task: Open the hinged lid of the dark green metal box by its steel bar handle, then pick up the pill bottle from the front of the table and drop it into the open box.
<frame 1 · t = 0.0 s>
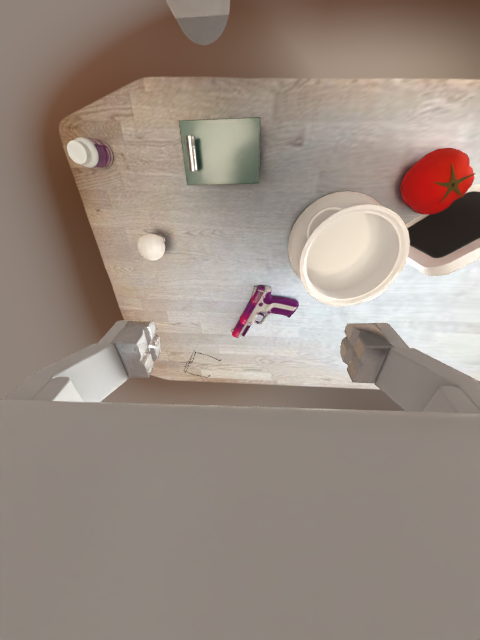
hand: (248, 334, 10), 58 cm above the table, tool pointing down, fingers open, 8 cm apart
pot: (330, 239, 64), on the table
toy gun: (282, 326, 79), point 2 cm above the table
light bulb: (161, 238, 66), on the table
tomato: (416, 181, 55), on the table
lid: (220, 153, 45), point 11 cm above the table, hinge at 0.0°
pill bottle: (102, 153, 56), on the table
computer: (454, 220, 50), point 11 cm above the table
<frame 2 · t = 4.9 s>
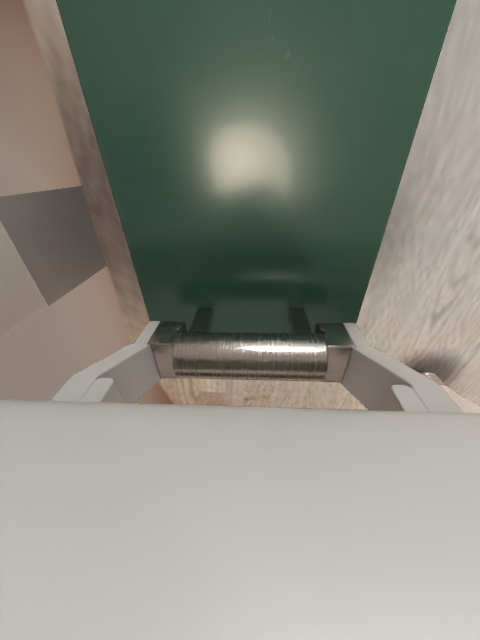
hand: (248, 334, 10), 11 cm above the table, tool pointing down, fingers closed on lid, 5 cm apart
light bulb: (417, 374, 27), on the table
lid: (249, 201, 7), point 11 cm above the table, hinge at -0.1°, touching gripper
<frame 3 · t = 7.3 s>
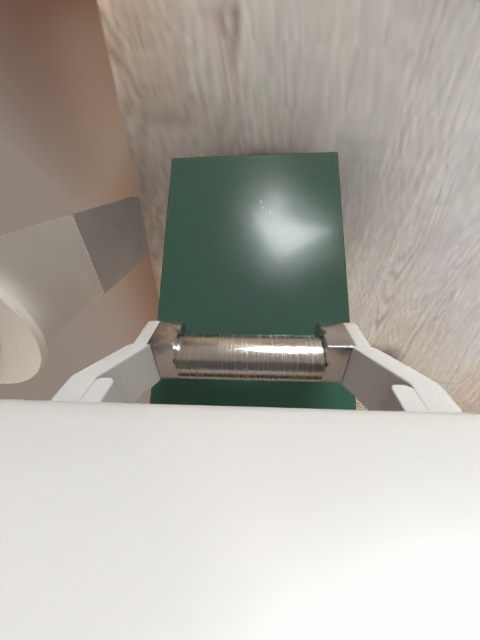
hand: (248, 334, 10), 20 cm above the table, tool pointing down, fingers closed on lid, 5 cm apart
lid: (251, 254, 12), point 16 cm above the table, hinge at 45.7°, touching gripper
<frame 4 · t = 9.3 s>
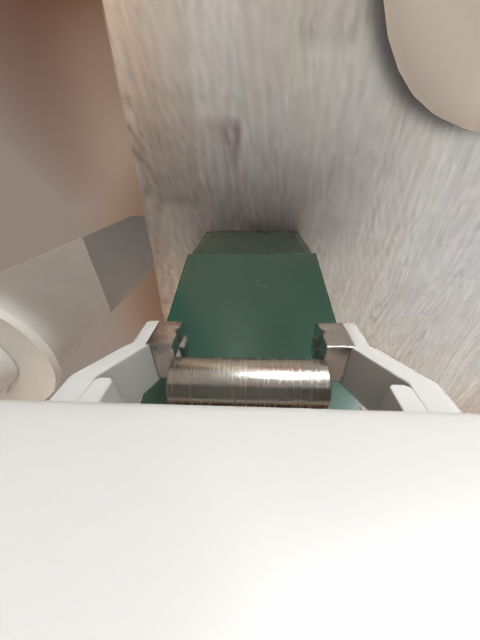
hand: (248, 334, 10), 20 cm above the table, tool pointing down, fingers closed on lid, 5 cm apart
lid: (249, 307, 13), point 17 cm above the table, hinge at 74.2°, touching gripper
chest: (251, 287, 31), on the table
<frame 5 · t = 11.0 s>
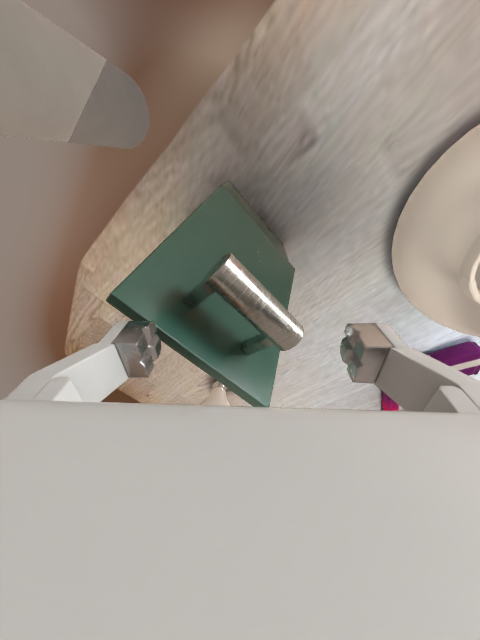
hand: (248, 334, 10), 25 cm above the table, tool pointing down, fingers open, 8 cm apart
toy gun: (468, 386, 43), point 2 cm above the table
light bulb: (220, 382, 49), on the table
lid: (257, 264, 16), point 17 cm above the table, hinge at 73.0°
chest: (219, 252, 33), on the table
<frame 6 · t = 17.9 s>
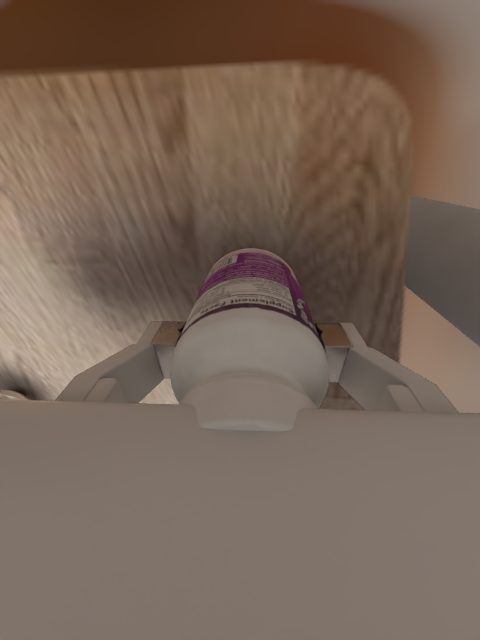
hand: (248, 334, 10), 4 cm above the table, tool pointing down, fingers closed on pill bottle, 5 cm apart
light bulb: (22, 391, 20), on the table
pill bottle: (250, 289, 14), on the table, touching gripper
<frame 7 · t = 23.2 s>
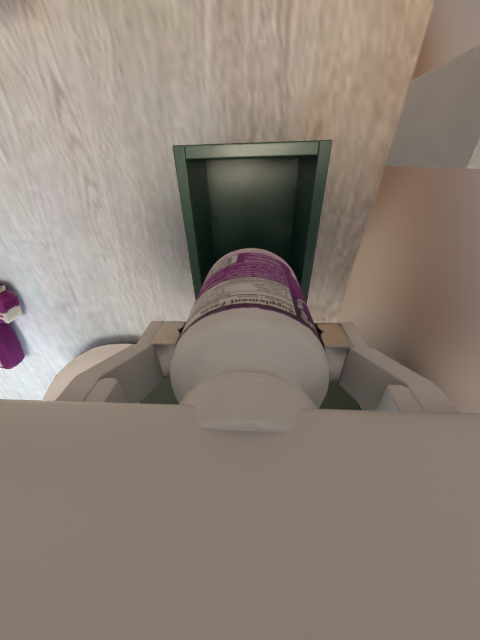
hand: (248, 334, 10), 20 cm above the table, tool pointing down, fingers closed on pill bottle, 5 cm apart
pot: (144, 384, 43), on the table
lid: (249, 388, 16), point 17 cm above the table, hinge at 73.5°
chest: (251, 227, 27), on the table
pill bottle: (250, 289, 14), point 16 cm above the table, touching gripper
when the fingers open (13 cm above the table, at t = 25.8 s): pill bottle drops 8 cm, resting on chest.
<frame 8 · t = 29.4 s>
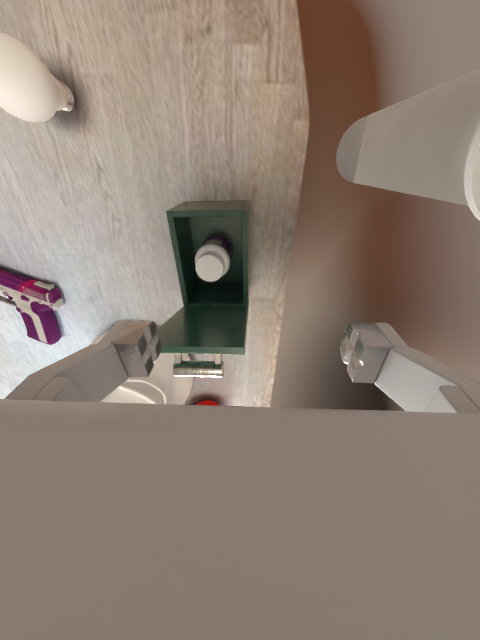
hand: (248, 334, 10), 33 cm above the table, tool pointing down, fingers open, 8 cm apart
pot: (148, 358, 58), on the table
toy gun: (8, 325, 51), point 2 cm above the table
light bulb: (68, 98, 31), on the table
lid: (207, 339, 31), point 17 cm above the table, hinge at 73.9°
chest: (219, 246, 41), on the table
pill bottle: (218, 248, 41), point 1 cm above the table, touching chest
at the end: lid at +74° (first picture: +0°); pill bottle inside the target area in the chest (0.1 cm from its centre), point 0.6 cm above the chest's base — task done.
